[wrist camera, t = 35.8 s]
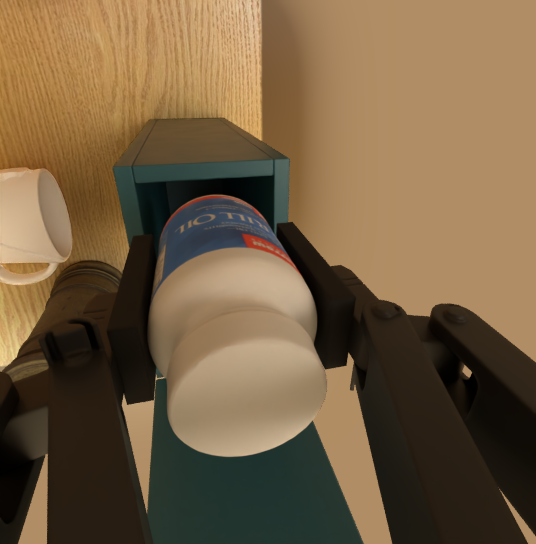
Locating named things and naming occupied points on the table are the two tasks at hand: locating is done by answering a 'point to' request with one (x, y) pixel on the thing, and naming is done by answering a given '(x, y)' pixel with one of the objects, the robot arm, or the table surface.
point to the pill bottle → (232, 331)
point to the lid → (244, 492)
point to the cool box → (197, 173)
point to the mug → (32, 223)
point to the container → (63, 310)
